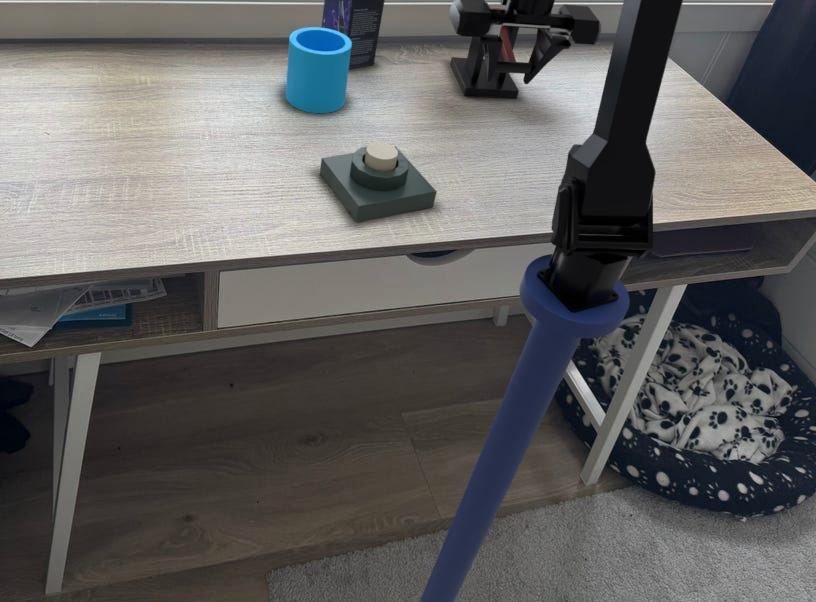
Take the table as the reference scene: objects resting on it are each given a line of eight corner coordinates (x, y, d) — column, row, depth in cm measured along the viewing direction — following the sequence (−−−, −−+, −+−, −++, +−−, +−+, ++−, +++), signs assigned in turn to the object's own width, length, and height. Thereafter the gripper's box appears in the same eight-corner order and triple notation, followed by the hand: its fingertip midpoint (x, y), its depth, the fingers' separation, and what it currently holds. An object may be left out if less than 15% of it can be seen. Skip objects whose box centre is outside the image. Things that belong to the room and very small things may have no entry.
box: (318, 47, 113) (325, -26, 105) (350, 43, 115) (359, -29, 107) (343, 70, 108) (351, -4, 100) (375, 65, 110) (386, -8, 103)
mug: (354, 109, 100) (362, 51, 94) (299, 116, 97) (303, 57, 91) (319, 69, 107) (325, 13, 102) (267, 74, 104) (269, 17, 99)
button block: (433, 207, 85) (440, 178, 82) (356, 222, 81) (360, 192, 78) (392, 161, 91) (398, 132, 88) (319, 173, 87) (322, 144, 85)
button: (401, 169, 83) (403, 156, 82) (373, 174, 82) (375, 161, 81) (386, 153, 85) (388, 140, 84) (359, 157, 84) (361, 144, 83)
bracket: (516, 98, 107) (538, 25, 100) (464, 95, 106) (482, 21, 99) (499, 67, 114) (518, -3, 107) (449, 64, 113) (465, -7, 106)
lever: (528, 79, 99) (534, 64, 97) (492, 77, 99) (498, 62, 97) (510, 24, 106) (515, 9, 104) (476, 22, 105) (481, 7, 103)
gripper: (591, -55, 96) (554, 57, 107) (454, -67, 94) (430, 50, 105) (622, -21, 88) (578, 96, 99) (473, -33, 86) (445, 89, 97)
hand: (506, 81), depth 100 cm, fingers closed on lever, 5 cm apart
